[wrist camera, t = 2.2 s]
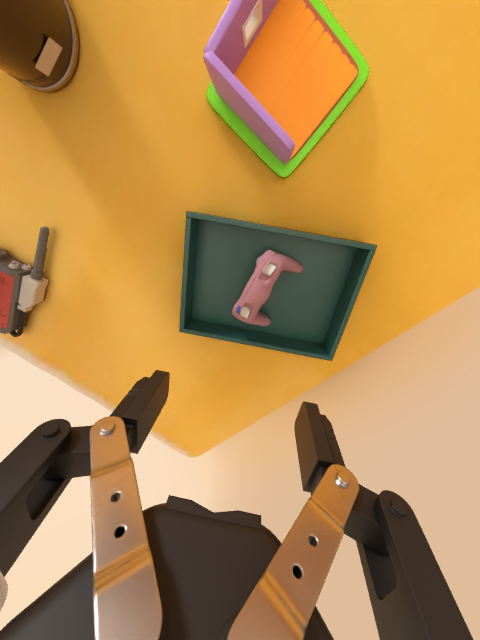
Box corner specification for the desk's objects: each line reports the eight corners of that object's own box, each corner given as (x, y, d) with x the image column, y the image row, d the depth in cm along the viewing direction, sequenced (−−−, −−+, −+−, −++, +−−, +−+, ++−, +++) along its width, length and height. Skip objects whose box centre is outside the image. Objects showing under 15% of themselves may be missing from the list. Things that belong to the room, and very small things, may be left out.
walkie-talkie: (38, 339, 39) (62, 231, 31) (12, 353, 35) (32, 232, 27) (-14, 313, 38) (-2, 194, 30) (-47, 324, 34) (-43, 190, 26)
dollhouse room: (202, 99, 24) (181, 57, 18) (284, -41, 20) (293, -161, 14) (284, 183, 27) (290, 172, 20) (372, 74, 22) (415, 17, 16)
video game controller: (279, 248, 31) (257, 241, 25) (308, 265, 29) (292, 262, 23) (245, 309, 35) (219, 316, 29) (270, 327, 33) (247, 338, 27)
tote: (195, 212, 29) (186, 210, 25) (363, 242, 28) (377, 245, 25) (187, 320, 35) (179, 331, 31) (325, 347, 34) (331, 361, 31)
